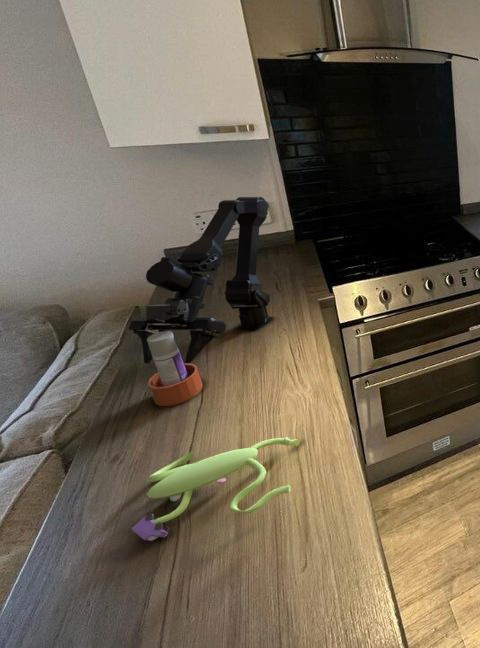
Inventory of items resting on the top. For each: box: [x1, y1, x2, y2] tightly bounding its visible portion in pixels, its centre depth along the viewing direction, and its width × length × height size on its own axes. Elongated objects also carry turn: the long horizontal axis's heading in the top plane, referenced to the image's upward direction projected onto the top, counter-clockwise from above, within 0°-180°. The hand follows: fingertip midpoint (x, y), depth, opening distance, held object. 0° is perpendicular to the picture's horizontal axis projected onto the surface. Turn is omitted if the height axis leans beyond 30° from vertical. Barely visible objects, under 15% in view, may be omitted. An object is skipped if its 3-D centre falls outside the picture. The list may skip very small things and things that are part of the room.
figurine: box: [131, 436, 301, 542], centre depth 78 cm, size 18×27×6 cm
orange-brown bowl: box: [147, 363, 204, 407], centre depth 103 cm, size 9×9×5 cm
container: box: [147, 330, 188, 387], centre depth 101 cm, size 5×5×15 cm
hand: (166, 363), depth 100 cm, fingers open, 9 cm apart
